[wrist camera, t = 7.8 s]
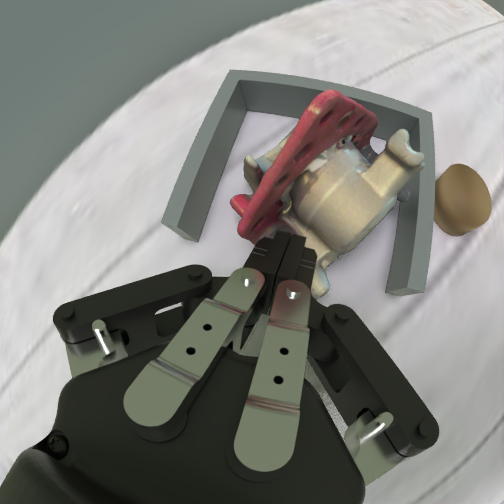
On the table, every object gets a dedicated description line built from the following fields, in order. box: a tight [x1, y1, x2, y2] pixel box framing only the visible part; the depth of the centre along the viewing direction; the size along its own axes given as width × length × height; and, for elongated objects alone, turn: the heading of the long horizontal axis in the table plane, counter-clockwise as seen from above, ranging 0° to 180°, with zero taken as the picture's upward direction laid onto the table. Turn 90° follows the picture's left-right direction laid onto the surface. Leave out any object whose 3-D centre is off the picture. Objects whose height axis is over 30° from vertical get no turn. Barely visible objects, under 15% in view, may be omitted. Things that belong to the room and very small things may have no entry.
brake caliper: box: [230, 89, 425, 299], centre depth 16 cm, size 11×11×12 cm
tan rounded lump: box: [434, 164, 491, 236], centre depth 17 cm, size 5×5×3 cm
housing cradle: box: [161, 70, 435, 296], centre depth 18 cm, size 16×14×4 cm
